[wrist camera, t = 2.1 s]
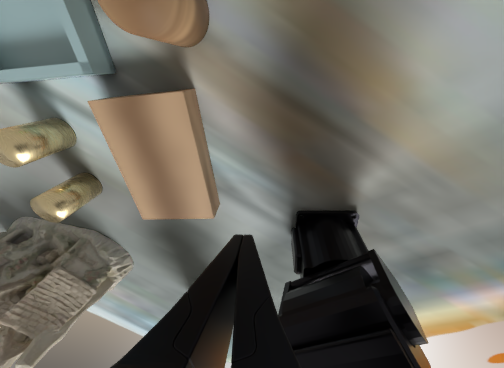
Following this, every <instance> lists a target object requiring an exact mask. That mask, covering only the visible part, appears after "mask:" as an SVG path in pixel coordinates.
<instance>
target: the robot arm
mask: <svg viewBox="0 0 504 368" xmlns="http://www.w3.org/2000/svg"><path fill="white" fill-rule="evenodd" d="M300 215H303V216H301V217H300ZM353 215H355V216H353ZM352 216H353V217H352ZM358 219H359V215H358V213H357V212H356V211H299V212H297V214H296V228H293V229H292V243H291V244H292V255H293V265H294V272H295V273H296V274H300V276H301V278H300V279H298V280H295V281H293V282H291V281H290V282H287V283H285V287H284V292H283V296H282V301H281V305H280V310H279V314H277V311H276V309H275V306H274V303H273V299H272V297H271V293H270V290H269V287H268V284H267V280H266V277H265V274H264V271H263V268H262V265H261V261H260V258H259V255H258V252H257V249H256V245H255V242H254V239H253V236H252V235H244V236H243V235H234V236H233V237H232V239H231V240H230V241H229V242H228V243H227V244H226V246H225V247H224V248H223V249H222V250H221V252H220V253H219V254H218V255H217V256H216V257H215V259H214V260H213V261H212V262H211V263H210V265H209V266H208V267H207V268H206V269H205V270H204V272H203V273H202V274H201V275H200V276H199V277H198V279H197V280H196V281H195V282H194V283H193V285H192V286H191V287H190V288H189V289H188V292H186V293H185V294H184V295H183V296H182V297H181V299H180V300H179V301H178V302H177V303H176V304H175V305H174V306H173V308H172V309H171V310H170V311H169V312H168V313H167V314H166V315H165V316H164V317H163V318H162V319H161V320H160V321H159V322H158V323H157V324H156V325H155V326H154V327H153V328H152V329H151V330H150V331H149V332H148V333H147V334H146V335H145V336H144V337H143V338H142V339H141V340H140V341H139V342H138V343H137V344H136V345H135V346H134V347H133V348H132V349H131V350H130V351H129V352H128V353H127V354H126V355H125V356H124V357H123V358H122V359H120V360H119V361H118V362H117V363H116V364H114V365H113V366H112V367H110V368H225V363H226V358H227V353H228V349H229V344H230V339H231V334H232V330H233V325H234V330H233V346H232V361H231V363H232V365H231V368H431V366H430V364H429V362H428V360H427V358H426V356H425V354H424V353H423V351H422V349H421V347H420V346H419V345H422V344H427V343H428V341H427V339H426V336H425V334H424V332H423V330H422V327H421V325H420V323H419V321H418V318H417V316H416V314H415V312H414V309H413V307H412V305H411V304H410V302H409V300H408V299H407V297H406V295H405V294H404V292H403V290H402V289H401V287H400V286H399V284H398V282H397V281H396V279H395V278H394V276H393V275H392V273H391V272H390V271H389V269H388V268H387V266H386V265H385V264H384V262H383V261H382V259H381V258H380V257H379V255H378V254H377V253H376V251H375V250H374V249H373V250H370V251H368V249H367V247H366V245H365V243H364V242H363V240H362V238H361V236H360V234H359V232H358V230H357V223H358Z"/></svg>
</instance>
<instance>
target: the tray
mask: <svg viewBox="0 0 504 368" xmlns="http://www.w3.org/2000/svg"><path fill="white" fill-rule="evenodd" d="M105 74H116V70H115V67H114V65H113V62H112V59H111V56H110V53H109V51H108V48H107V45H106V42H105V39H104V37H103V34H102V31H101V28H100V26H99V23H98V20H97V17H96V14H95V12H94V9H93V6H92V3H91V0H0V84H5V83H18V82H29V81H40V80H51V79H62V78H73V77H84V76H94V75H105Z"/></svg>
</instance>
